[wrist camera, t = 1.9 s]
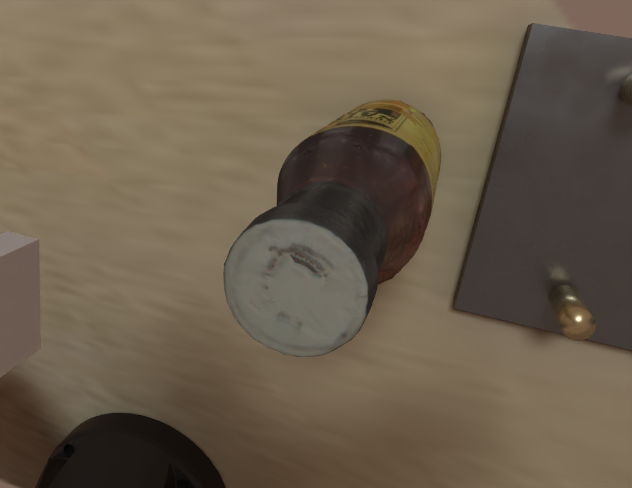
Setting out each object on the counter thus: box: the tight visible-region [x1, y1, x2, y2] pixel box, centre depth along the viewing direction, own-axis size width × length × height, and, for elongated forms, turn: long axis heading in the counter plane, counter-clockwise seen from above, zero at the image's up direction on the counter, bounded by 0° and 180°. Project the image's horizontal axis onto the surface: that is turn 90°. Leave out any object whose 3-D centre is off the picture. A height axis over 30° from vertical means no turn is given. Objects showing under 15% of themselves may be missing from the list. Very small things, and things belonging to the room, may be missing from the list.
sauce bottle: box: [224, 100, 441, 357], centre depth 23 cm, size 6×6×20 cm
